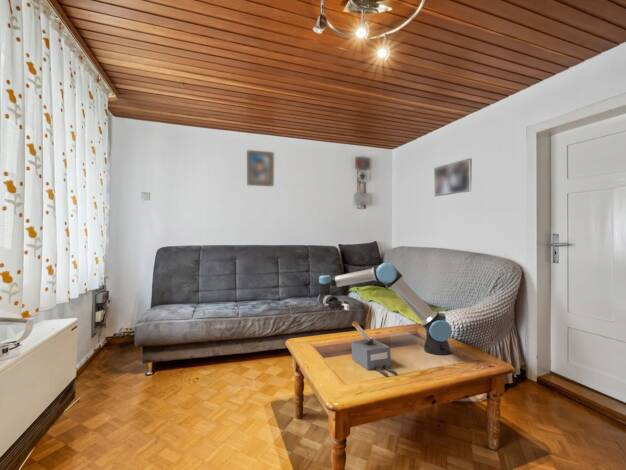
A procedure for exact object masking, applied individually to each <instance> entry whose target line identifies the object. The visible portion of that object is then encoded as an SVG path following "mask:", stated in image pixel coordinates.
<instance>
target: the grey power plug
mask: <svg viewBox="0 0 626 470" xmlns="http://www.w3.org/2000/svg"><path fill="white" fill-rule="evenodd" d="M371 339H372V340H373V343H372V344H370V343H368V342H367V341H366V339H360V340H359V339H358V340H351V341H350V342H351V343H350V345H351V359H352V361H353V362H355V363H356V364H358V365H360V366H361V367H362V368H363V369H365V370H366V371H371V370H375V371H377V372H378V373H380V374H382V376H384V377H389V374H388V373H387V372H385V371H384V370H383V369H385V370H386V371H388V372H390V373H391V374H393V375H395V376H397V375H398V373H397V372H396V371H395V370H393V369H392V368H390V367H392V360H391V359H392V358H391V357H392V356H391V347H390V346H389V345H387V344H385V343H382V342H380V341H378V340H376V339H375V338H371Z"/></svg>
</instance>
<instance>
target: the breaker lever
mask: <svg viewBox="0 0 626 470" xmlns="http://www.w3.org/2000/svg"><path fill="white" fill-rule="evenodd" d="M351 325H352V327H354V328H355V329H356V330H357V331H358V333H360V335H361V336H362V337H363V338H364V340H366V341H367V342H368V343H370V344H372V343H373V340H372V339H373V338H371V337H370V336H369V335H368V334H367V333H366V332H365V331H364V329H363V328H362V327H361V326H360V324H359V323H358V321H355V320H353V321H352V322H351Z"/></svg>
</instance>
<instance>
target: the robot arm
mask: <svg viewBox="0 0 626 470" xmlns="http://www.w3.org/2000/svg"><path fill="white" fill-rule="evenodd" d="M372 281H375V282H381V283H383V285H385V287H386V288H387V289H389V290H393V292H394V293H395V294H396V295H397V296H398V298H400V300H402V301H403V303H405V305H406V306H407V307H409V309H410V310H411V311H412V312H413V313H414V314H415V315H416V317H417V318H419V320H420V321H421V326H422V327H423V328H424V329H425V334H426V337H425V342H424V344H423V345H424V346H423V349H424V352H425V353H428V354H432V355H438V356H443V355H444V356H445V355H450V354H451V353H452V348H451V346H450V343H449V339H450V338H451V336H452V335H453V334H452V333H453V331H452V330H453V329H452V326H451V325H450V323H449V322H447V321H446V320H447V319H446V318H447V317H446V313H443V312H438V311H434V310H433V309H431V307H429V306H428V304H427V303H426V302H425V301H424V300H423V299H422V298H421V297H420V296H419V295H418V294H417V293H416V292H415V290H413V288H412V287H411V286H410V285H409V284H408V283H407V282H406V281H405V280H404V276H403V274H402V273H401V272H400V271H399V270H398V269H397V268H396V267H395V265H394V264H392V263H389V262H383V263H381V264H379V265H376V266H373V267H372V268H368V269H364V270H359V271H353V272H349V273H345V274H339V275H334V276H331V275H327V274H325V275H323V274H322V275H320V276H319V277H318V287H319V292H318V293H319V294H318V297H317V302H318V304H319V305H321V306H322V307H325V308H328V309H329V310H337V309H339V311H341V310H343V311H344V310H345V311H350V305H349V302H348V301H346V300H343V301H341V300H339V298H338V297H336V296H335V295H332V289H334V288H340V287H344V286H350V285H356V284H360V283H366V282H372Z"/></svg>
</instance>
